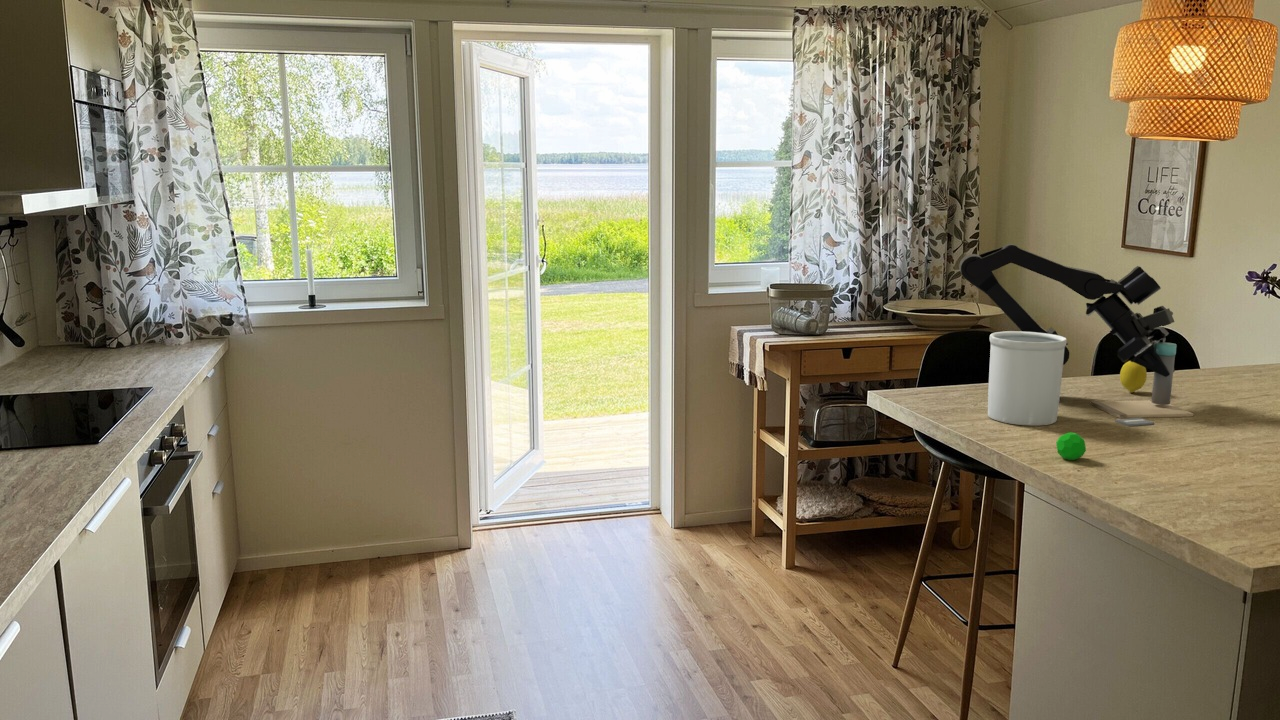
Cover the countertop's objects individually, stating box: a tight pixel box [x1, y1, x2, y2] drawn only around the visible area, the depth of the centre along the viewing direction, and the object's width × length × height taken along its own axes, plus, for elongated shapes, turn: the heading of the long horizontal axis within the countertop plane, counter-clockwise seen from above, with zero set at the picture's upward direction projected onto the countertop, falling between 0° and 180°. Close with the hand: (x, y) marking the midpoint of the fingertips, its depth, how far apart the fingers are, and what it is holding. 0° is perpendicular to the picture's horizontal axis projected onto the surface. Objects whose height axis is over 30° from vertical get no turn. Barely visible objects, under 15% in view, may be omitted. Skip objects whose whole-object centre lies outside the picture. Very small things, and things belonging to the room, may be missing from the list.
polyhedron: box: [1055, 431, 1087, 461], centre depth 176 cm, size 5×5×5 cm
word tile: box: [1114, 417, 1155, 427], centre depth 201 cm, size 6×4×1 cm, turn 103°
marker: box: [1151, 341, 1178, 405], centre depth 210 cm, size 4×4×13 cm
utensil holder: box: [987, 330, 1068, 427], centre depth 204 cm, size 15×15×18 cm
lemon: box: [1119, 360, 1148, 394], centre depth 226 cm, size 6×6×8 cm
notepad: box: [1090, 399, 1194, 419], centre depth 211 cm, size 16×12×1 cm
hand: (1170, 374), depth 209 cm, fingers closed on marker, 3 cm apart
